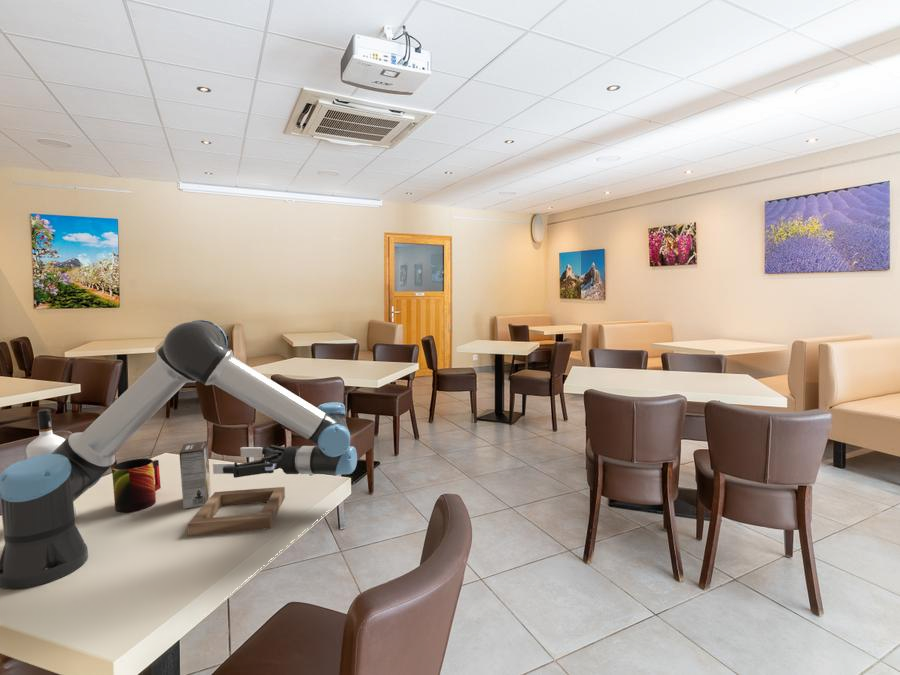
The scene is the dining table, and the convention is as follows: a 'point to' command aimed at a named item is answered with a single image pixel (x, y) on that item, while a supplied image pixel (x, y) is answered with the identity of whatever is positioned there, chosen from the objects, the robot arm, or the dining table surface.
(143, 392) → the robot arm
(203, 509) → the block
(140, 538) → the dining table surface
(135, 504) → the mug
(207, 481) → the coffee box
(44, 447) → the vodka
